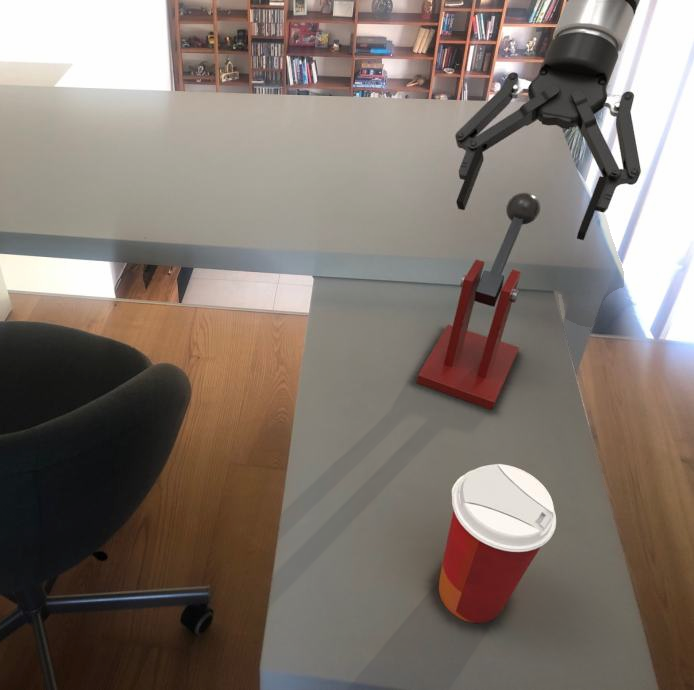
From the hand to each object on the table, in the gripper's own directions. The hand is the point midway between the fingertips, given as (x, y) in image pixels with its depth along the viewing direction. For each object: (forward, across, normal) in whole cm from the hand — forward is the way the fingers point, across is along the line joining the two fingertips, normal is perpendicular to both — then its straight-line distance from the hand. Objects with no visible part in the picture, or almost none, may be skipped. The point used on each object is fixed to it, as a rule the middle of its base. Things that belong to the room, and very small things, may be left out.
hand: (518, 220), depth 80 cm
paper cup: (+38, -9, +16) cm, 42 cm away
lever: (+4, 0, 0) cm, 4 cm away
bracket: (+18, 0, -5) cm, 18 cm away
